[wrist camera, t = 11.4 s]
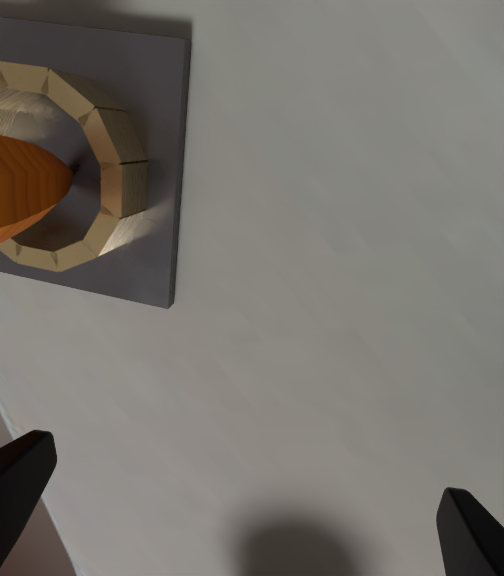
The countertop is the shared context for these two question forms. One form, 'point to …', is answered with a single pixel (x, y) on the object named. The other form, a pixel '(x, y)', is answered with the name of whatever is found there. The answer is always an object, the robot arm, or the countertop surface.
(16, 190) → the carrot
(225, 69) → the countertop surface
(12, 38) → the collar plate
